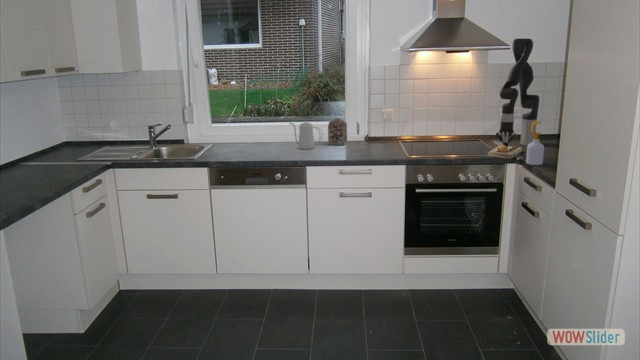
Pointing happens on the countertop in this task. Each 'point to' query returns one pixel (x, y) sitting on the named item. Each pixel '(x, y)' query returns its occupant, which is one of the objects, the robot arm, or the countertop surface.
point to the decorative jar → (337, 132)
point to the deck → (509, 154)
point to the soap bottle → (535, 149)
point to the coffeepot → (306, 135)
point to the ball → (503, 149)
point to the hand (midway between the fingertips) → (505, 148)
